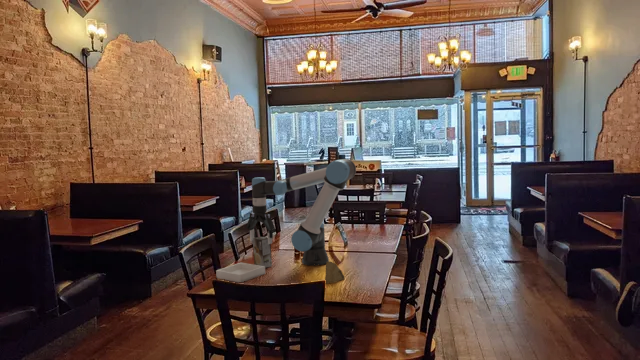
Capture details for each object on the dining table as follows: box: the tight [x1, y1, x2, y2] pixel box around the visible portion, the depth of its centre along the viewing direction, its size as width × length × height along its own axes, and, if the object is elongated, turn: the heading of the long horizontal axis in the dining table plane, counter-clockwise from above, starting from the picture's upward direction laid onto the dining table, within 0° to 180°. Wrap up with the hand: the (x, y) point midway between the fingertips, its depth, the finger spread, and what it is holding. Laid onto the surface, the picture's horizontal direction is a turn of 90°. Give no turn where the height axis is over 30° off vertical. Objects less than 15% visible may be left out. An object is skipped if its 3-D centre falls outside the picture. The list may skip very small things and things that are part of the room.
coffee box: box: [252, 236, 273, 269], centre depth 267 cm, size 9×6×16 cm
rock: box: [324, 260, 345, 285], centre depth 233 cm, size 11×9×10 cm
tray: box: [215, 262, 266, 283], centre depth 250 cm, size 18×18×4 cm
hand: (261, 242), depth 267 cm, fingers open, 13 cm apart
